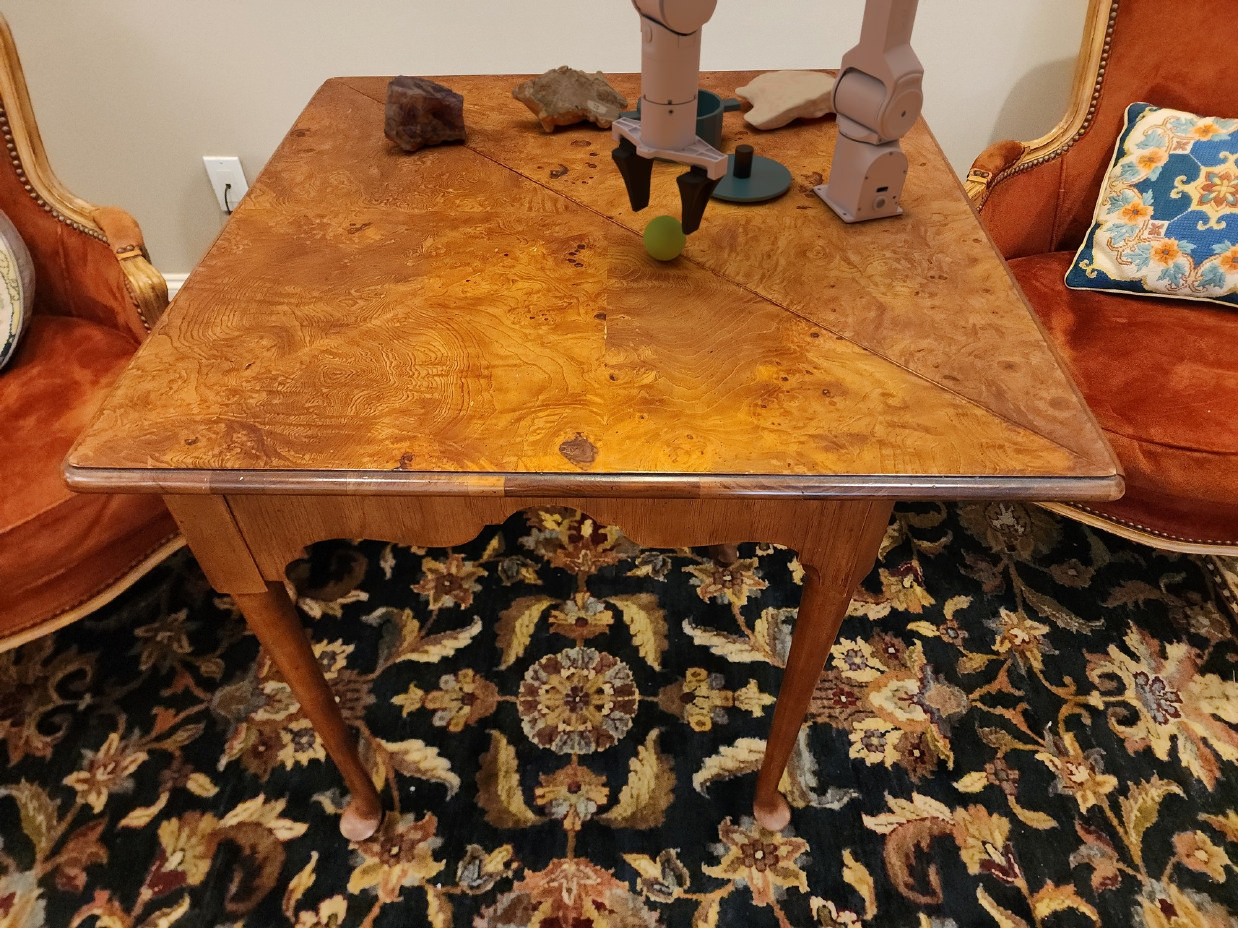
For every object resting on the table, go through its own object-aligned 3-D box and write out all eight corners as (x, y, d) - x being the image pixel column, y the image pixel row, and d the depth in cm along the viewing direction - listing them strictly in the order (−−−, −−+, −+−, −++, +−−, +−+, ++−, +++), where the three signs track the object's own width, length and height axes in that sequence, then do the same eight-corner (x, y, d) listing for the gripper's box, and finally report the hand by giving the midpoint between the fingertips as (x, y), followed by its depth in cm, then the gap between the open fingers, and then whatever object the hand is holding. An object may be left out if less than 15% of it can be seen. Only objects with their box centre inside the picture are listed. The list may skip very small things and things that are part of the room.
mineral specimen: (558, 174, 119) (637, 122, 120) (557, 157, 112) (641, 102, 113) (511, 103, 118) (590, 51, 119) (507, 82, 111) (592, 26, 112)
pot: (750, 153, 109) (755, 111, 104) (633, 170, 105) (633, 127, 101) (719, 121, 117) (722, 80, 112) (609, 135, 113) (608, 94, 109)
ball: (691, 265, 88) (693, 225, 85) (650, 271, 87) (651, 232, 84) (676, 243, 91) (678, 204, 88) (637, 250, 91) (637, 211, 87)
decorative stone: (840, 55, 124) (888, 82, 113) (835, 88, 127) (881, 117, 116) (717, 70, 120) (754, 99, 109) (715, 104, 123) (751, 135, 113)
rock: (468, 157, 112) (459, 128, 118) (469, 97, 106) (459, 70, 112) (386, 155, 108) (381, 126, 115) (381, 93, 102) (377, 65, 109)
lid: (807, 197, 99) (813, 162, 96) (712, 212, 97) (715, 177, 93) (766, 156, 108) (770, 122, 105) (678, 168, 106) (680, 134, 102)
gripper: (590, 87, 78) (594, 211, 87) (699, 126, 71) (691, 256, 80) (637, 69, 81) (636, 190, 91) (745, 104, 74) (732, 231, 84)
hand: (664, 219), depth 86 cm, fingers open, 7 cm apart
